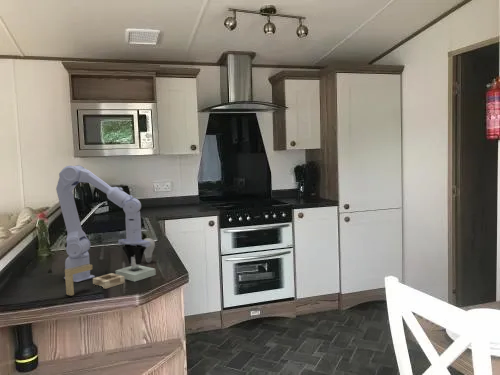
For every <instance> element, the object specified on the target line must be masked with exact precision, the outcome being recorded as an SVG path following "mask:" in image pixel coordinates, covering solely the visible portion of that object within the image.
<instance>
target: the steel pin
mask: <svg viewBox="0 0 500 375" xmlns="http://www.w3.org/2000/svg"><path fill="white" fill-rule="evenodd" d="M139 265H140V264H138V265H136V260H135V255H133V256H131V264H130V266H131V271H133V272H135V271H139Z"/></svg>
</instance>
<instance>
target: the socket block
mask: <svg viewBox="0 0 500 375" xmlns="http://www.w3.org/2000/svg"><path fill="white" fill-rule="evenodd" d="M125 280H126V279H124V276H121V275H117V274H116V273H112V272H111V273H107V274H103V275H100V276H95V277H94V278H92V285H93V284H95V285H99V286H102V287H103V288H102V289H109V288H112V287H116V286H118V285H122V284H125V283H126V282H125ZM95 285H94V286H95Z"/></svg>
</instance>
